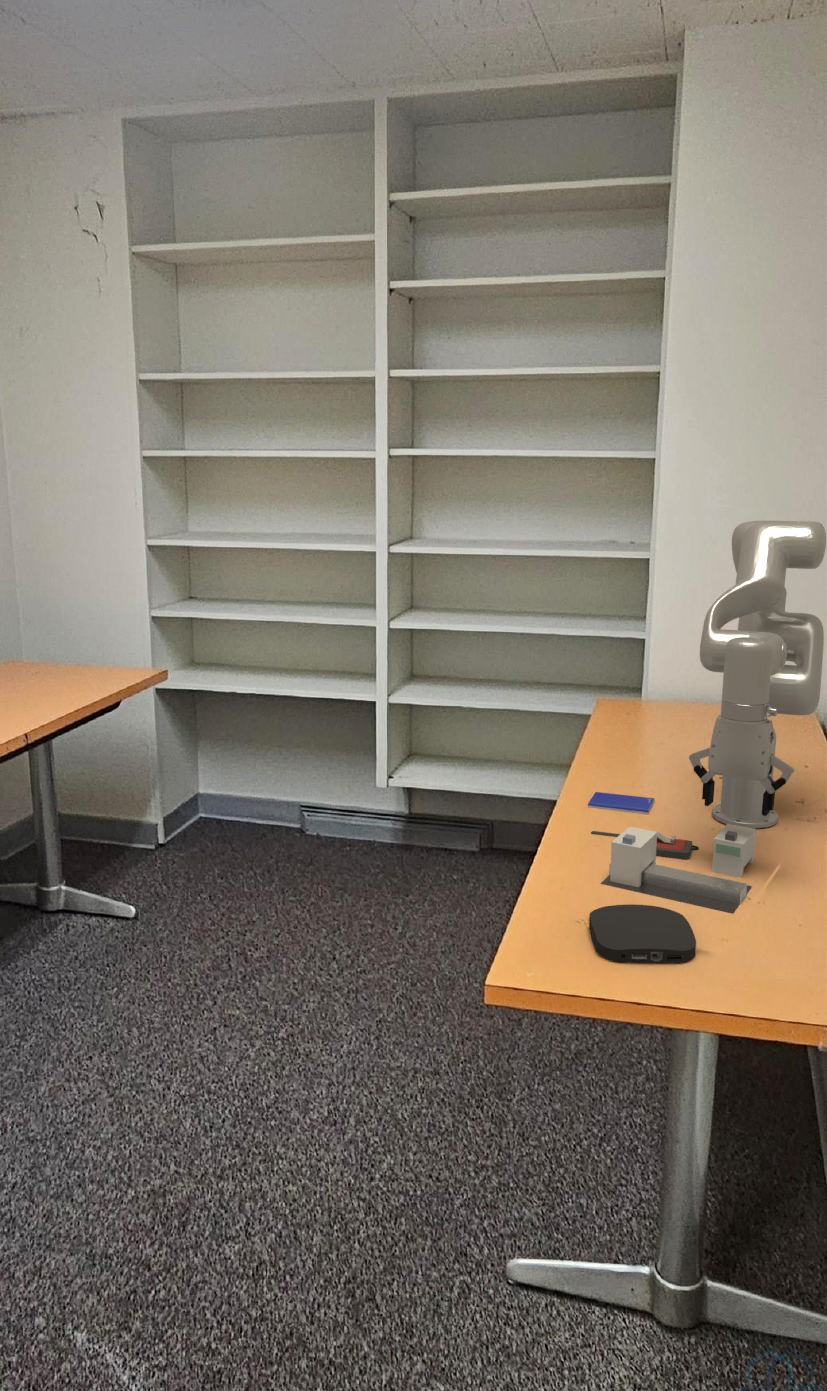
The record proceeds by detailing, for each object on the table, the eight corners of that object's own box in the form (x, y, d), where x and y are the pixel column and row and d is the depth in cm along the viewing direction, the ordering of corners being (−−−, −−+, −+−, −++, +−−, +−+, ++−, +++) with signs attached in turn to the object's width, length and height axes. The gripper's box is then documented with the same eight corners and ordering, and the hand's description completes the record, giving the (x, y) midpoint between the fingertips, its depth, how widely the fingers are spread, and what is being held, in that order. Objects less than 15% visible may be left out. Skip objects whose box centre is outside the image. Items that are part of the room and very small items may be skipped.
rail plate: (625, 864, 179) (626, 849, 179) (751, 891, 168) (753, 875, 167) (600, 888, 169) (600, 872, 169) (732, 919, 158) (734, 901, 157)
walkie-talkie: (699, 851, 186) (591, 837, 193) (701, 828, 185) (592, 816, 192) (695, 868, 178) (582, 854, 185) (696, 845, 177) (583, 831, 184)
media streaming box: (678, 920, 159) (680, 903, 158) (701, 966, 144) (702, 947, 144) (585, 919, 159) (586, 902, 158) (598, 965, 145) (599, 946, 144)
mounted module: (627, 864, 177) (629, 821, 175) (655, 870, 174) (657, 826, 173) (609, 880, 170) (611, 836, 168) (638, 887, 168) (640, 842, 166)
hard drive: (654, 797, 211) (596, 790, 216) (648, 809, 204) (587, 802, 209) (654, 804, 212) (595, 797, 216) (648, 817, 204) (587, 810, 209)
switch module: (724, 860, 181) (727, 818, 179) (753, 866, 178) (756, 823, 177) (711, 877, 174) (714, 833, 172) (740, 883, 171) (743, 839, 170)
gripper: (802, 713, 168) (794, 811, 172) (699, 701, 177) (693, 795, 180) (793, 722, 162) (784, 823, 165) (686, 709, 171) (680, 806, 174)
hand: (736, 808), depth 173 cm, fingers open, 9 cm apart
